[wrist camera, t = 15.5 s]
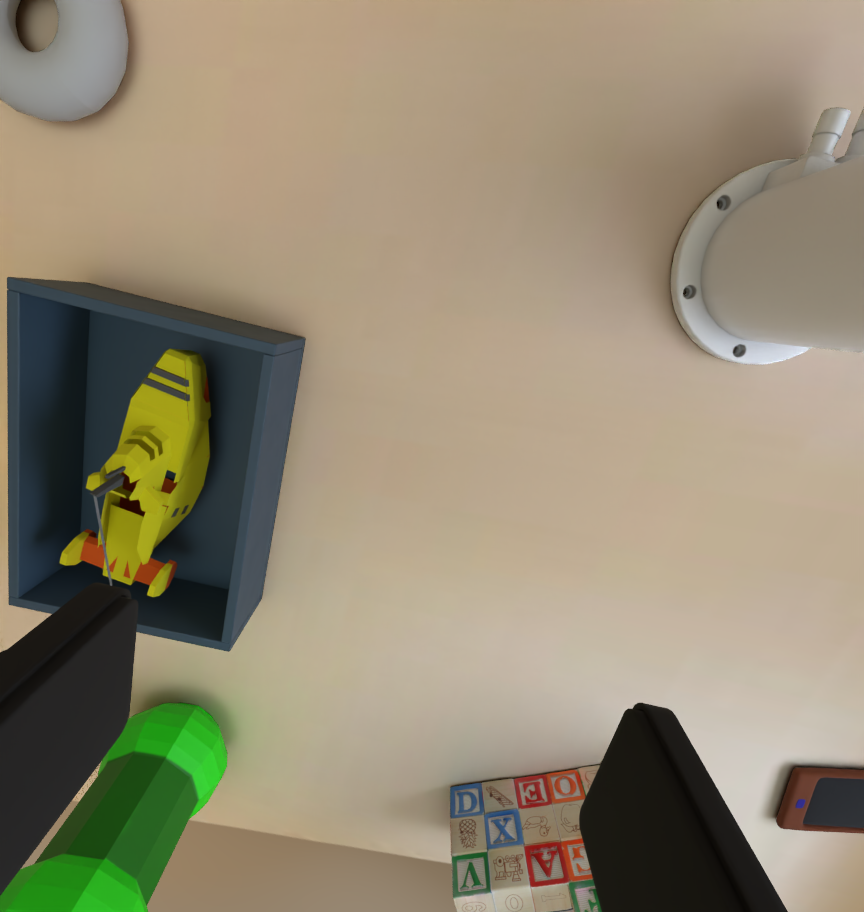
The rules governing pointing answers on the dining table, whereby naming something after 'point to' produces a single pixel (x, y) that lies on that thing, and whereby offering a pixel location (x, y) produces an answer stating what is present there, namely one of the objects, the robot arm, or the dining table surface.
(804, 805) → the smartphone
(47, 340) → the tote
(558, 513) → the dining table surface
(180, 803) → the plastic bottle
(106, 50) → the donut
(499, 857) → the stack of blocks
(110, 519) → the yellow toy submarine
